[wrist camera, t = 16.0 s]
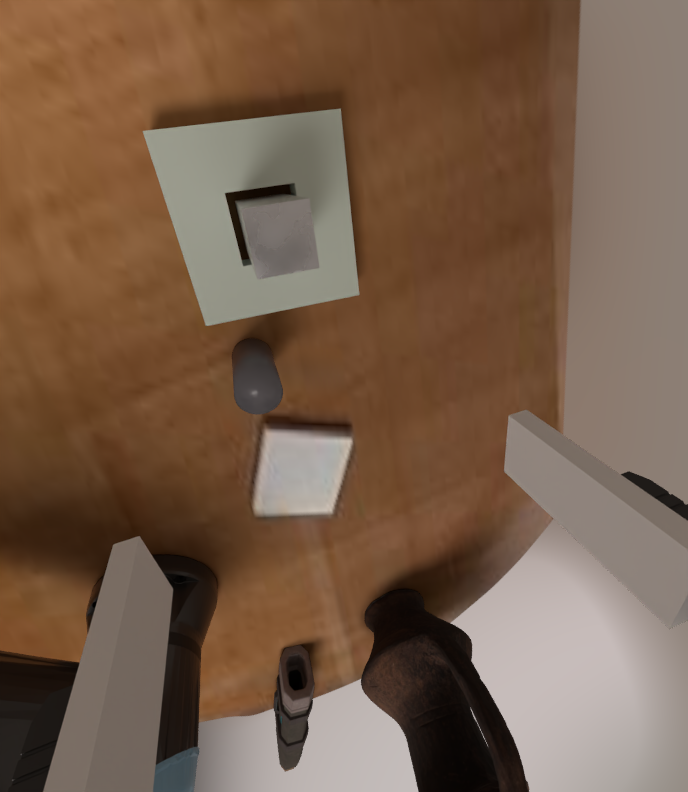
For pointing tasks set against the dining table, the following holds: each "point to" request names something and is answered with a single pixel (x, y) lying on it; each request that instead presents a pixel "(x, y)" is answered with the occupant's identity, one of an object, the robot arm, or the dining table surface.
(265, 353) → the round peg
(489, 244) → the dining table surface
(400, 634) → the jug
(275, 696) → the tube
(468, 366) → the dining table surface
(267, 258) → the square peg
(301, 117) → the socket board
